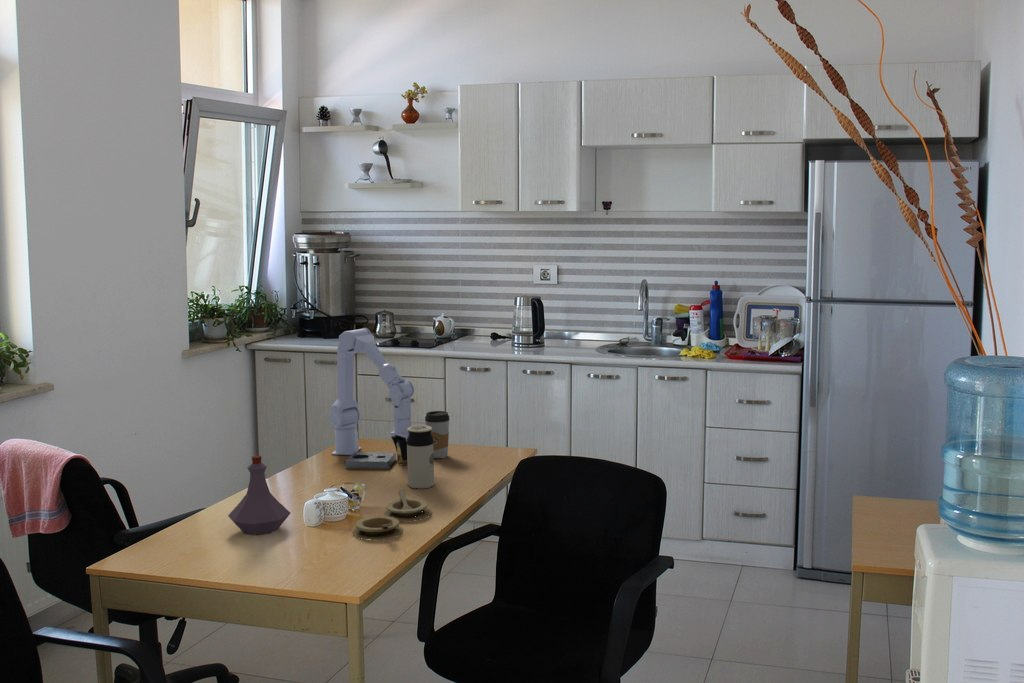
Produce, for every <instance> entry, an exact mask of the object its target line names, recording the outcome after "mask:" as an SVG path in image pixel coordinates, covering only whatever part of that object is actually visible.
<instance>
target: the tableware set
mask: <svg viewBox="0 0 1024 683" xmlns="http://www.w3.org/2000/svg"><path fill="white" fill-rule="evenodd" d="M397 492H398V495H399V498H400V499H396V500H393V501H391V502H388V503H387V504H386V506H385V508H386V511H384V512H383V515H377V516H368V517H363V518H361V519H359V520H357V521H356V522H355V528H354V529H353V530H352V532H351V535H352V534H353V535H352V537H354V536H355V537H357V538H356V539H358V538H360V539H359V540H361V538H362V539H371V540H377V541H384V540H383V539H387V540H390V538H391V539H394V538H393V537H395V538H397V537H399V536H401V535H402V534H403V531H404V529H403V528H402V527H401V526H400V522H399V521H411V522H415V521H414V520H419V521H421V520H420V519H423V520H425V519H424V518H426V517H428V516H430V515H431V516H432V514H433V512H432V510H431V509H430V508H428V506H429V503H428V502H427V501H425V500H424V499H420V498H407V496H406V492H405V489H404V488H399V489H398V490H397ZM421 511H423V512H422V513H421ZM421 514H422V515H421ZM415 516H416V517H415ZM431 516H430V517H431ZM428 518H429V517H428ZM426 519H427V518H426ZM401 533H402V534H401ZM400 534H401V535H400ZM398 535H399V536H398ZM396 536H397V537H396ZM355 537H354V538H355Z"/></svg>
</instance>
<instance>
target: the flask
mask: <svg viewBox="0 0 1024 683" xmlns="http://www.w3.org/2000/svg"><path fill="white" fill-rule="evenodd" d="M251 462H252V463H251V464H249V465H248V466H247V467H246V468H247V470H248V472H249V474H250V476H249V482H248V487H247V492H246V494H245V495H244V496H243V497H242V499H241V500H240V502H238V504H237V505H236V506H235V507H234V508H233V510H232V511H230V513H229V514H228V515H227V517H228V518H229V519H230V520H231V521H232V523H234V524H235V526H236V527H238V528H239V529H240V531H242V533H244V535H247V536H256V537H257V536H264V535H269V534H272V533H275V532H276V531H278V529H279V528H280V527H281V526H283V524H284V522H285V521H286V520H287V519H288V517H289V516H290V515H291V512H290V510H288V508H286V507H285V506H284V505H283V504H282V503H280V502H279V500H278V499H276V497H274V495H273V494H272V493H271V492H270V489H269V486H268V482H267V480H266V476H265V474H266V473H265V472H266V470H267V465H266V464H264V463H263V462H262V456H261V455H253V456H251Z"/></svg>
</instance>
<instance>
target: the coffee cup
mask: <svg viewBox="0 0 1024 683" xmlns="http://www.w3.org/2000/svg"><path fill="white" fill-rule="evenodd" d="M424 421H425V426H430V427H432V430H431V435H432V437H433V451H434V458H442V457H446V456H448V455H449V454H448V451H449V436H450V432H449V429H450V428H449V427H450V426H449V425H450V415H449V412H448V411H444V410H433V411H432V410H431V411H428V412H426V414H425V417H424ZM446 458H447V457H446ZM442 459H443V458H442Z"/></svg>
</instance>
